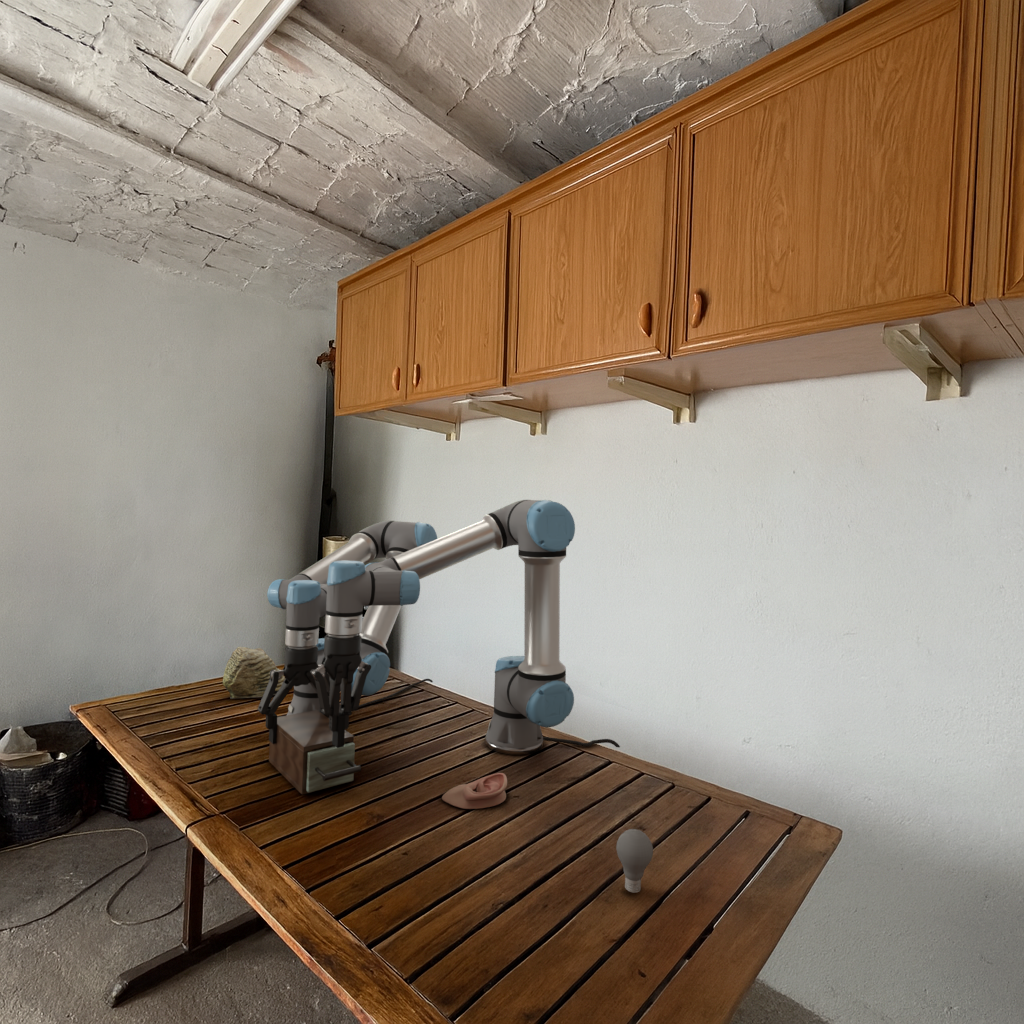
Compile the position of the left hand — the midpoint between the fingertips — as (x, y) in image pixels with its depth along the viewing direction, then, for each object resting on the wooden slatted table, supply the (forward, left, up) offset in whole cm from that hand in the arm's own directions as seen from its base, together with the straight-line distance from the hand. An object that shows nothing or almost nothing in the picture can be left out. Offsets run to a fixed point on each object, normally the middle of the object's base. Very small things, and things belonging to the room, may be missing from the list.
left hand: (298, 736), depth 151 cm
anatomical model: (-15, +43, -6) cm, 46 cm away
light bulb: (-9, +85, -6) cm, 85 cm away
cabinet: (+1, +7, -6) cm, 9 cm away
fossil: (-18, -52, -6) cm, 55 cm away
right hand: (+5, +22, +5) cm, 23 cm away
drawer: (+3, +12, -5) cm, 13 cm away
